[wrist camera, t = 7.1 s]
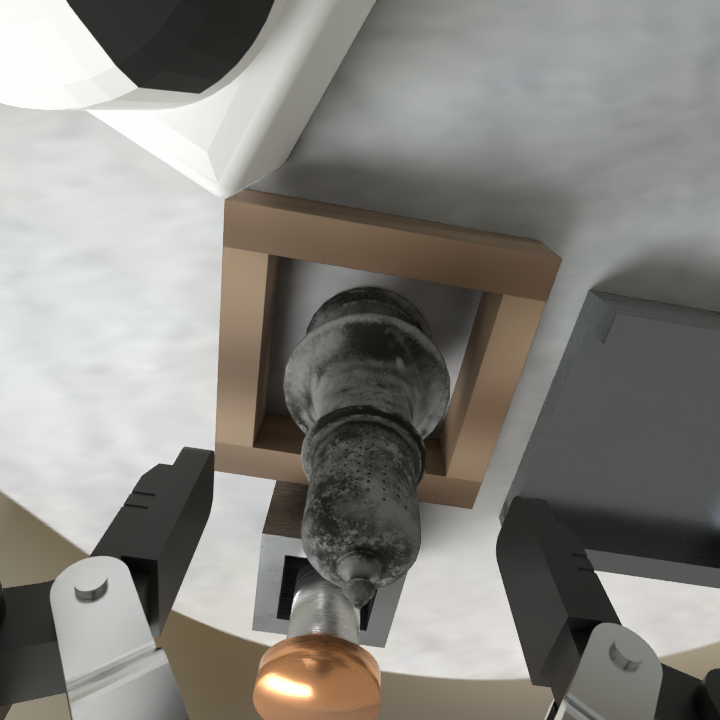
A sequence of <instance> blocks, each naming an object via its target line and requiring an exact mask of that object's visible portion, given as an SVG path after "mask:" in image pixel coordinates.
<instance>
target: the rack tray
mask: <svg viewBox="0 0 720 720" xmlns="http://www.w3.org/2000/svg"><path fill="white" fill-rule="evenodd" d="M515 496H523V497H530V498H537V499H543V500H546V501H547V503H548V505H549V507H550V509H551V511H552V513H553V515H554V518H555V520H556V521H559V522H564V523H565V524H566V525H567V526H568V527H569V528H570V529H571V530H572V531H573V533H574V534H575V535H576V536H577V537H578V538H579V540H580V542H581V544H582V546H583V548H584V550H585V552H586V554H587V559H589V560H590V562H591V564H592V566H593V568H594V570H596V571H603V572H610V573H617V574H624V575H631V576H638V577H644V578H651V579H658V580H665V581H672V582H679V583H686V584H693V585H700V586H707V587H714V588H720V313H718V312H712V311H707V310H701V309H695V308H689V307H683V306H678V305H672V304H666V303H660V302H654V301H649V300H643V299H637V298H631V297H626V296H620V295H614V294H608V293H602V292H597V291H591V290H589V292H588V294H587V297H586V299H585V302H584V304H583V307H582V309H581V312H580V314H579V317H578V319H577V322H576V325H575V327H574V330H573V332H572V335H571V337H570V340H569V342H568V345H567V347H566V350H565V352H564V355H563V357H562V360H561V362H560V365H559V367H558V370H557V372H556V375H555V377H554V380H553V382H552V385H551V387H550V390H549V392H548V395H547V398H546V400H545V403H544V405H543V408H542V410H541V413H540V415H539V418H538V420H537V423H536V425H535V428H534V430H533V433H532V435H531V438H530V440H529V443H528V445H527V448H526V450H525V453H524V455H523V458H522V460H521V463H520V465H519V468H518V471H517V473H516V476H515V478H514V481H513V483H512V486H511V488H510V491H509V493H508V496H507V498H506V501H505V503H504V506H503V508H502V511H501V513H500V516H499V519H500V523H501V526H502V525H503V523H504V520H505V517H506V515H507V512H508V510H509V507H510V504H511V502H512V500H513V498H514V497H515Z"/></svg>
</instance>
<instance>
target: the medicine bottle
mask: <svg viewBox="0 0 720 720" xmlns="http://www.w3.org/2000/svg"><path fill="white" fill-rule="evenodd" d="M375 2H376V0H0V103H3V104H8V105H12V106H16V107H21V108H33V109H46V110H87V111H88V112H90V113H91V114H93V115H94V116H96V117H97V118H99V119H100V120H102V121H104V122H105V123H107V124H108V125H110V126H111V127H113V128H114V129H116V130H117V131H119V132H120V133H122V134H123V135H125V136H126V137H128V138H129V139H131V140H132V141H134V142H135V143H137V144H139V145H140V146H142V147H143V148H145V149H146V150H148V151H149V152H151V153H152V154H154V155H155V156H157V157H158V158H160V159H161V160H163V161H164V162H166V163H167V164H169V165H170V166H172V167H174V168H175V169H177V170H178V171H180V172H181V173H183V174H184V175H186V176H187V177H189V178H190V179H192V180H193V181H195V182H196V183H198V184H199V185H201V186H202V187H204V188H205V189H207V190H209V191H210V192H212V193H213V194H215V195H217V196H220V197H223V198H225V197H230V196H233V195H235V194H236V193H238V192H240V191H242V190H243V189H245V188H247V187H248V186H250V185H252V184H253V183H255V182H257V181H259V180H260V179H262V178H264V177H265V176H267V175H269V174H271V173H272V172H274V171H276V170H277V169H279V168H281V167H282V166H283V165H284V163H285V162H286V160H287V158H288V156H289V155H290V153H291V151H292V149H293V147H294V146H295V144H296V142H297V140H298V139H299V137H300V135H301V133H302V131H303V130H304V128H305V126H306V124H307V123H308V121H309V119H310V117H311V115H312V114H313V112H314V110H315V108H316V107H317V105H318V103H319V101H320V100H321V98H322V96H323V94H324V92H325V91H326V89H327V87H328V85H329V84H330V82H331V80H332V78H333V76H334V75H335V73H336V71H337V69H338V68H339V66H340V64H341V62H342V60H343V59H344V57H345V55H346V53H347V52H348V50H349V48H350V46H351V45H352V43H353V41H354V39H355V37H356V36H357V34H358V32H359V30H360V29H361V27H362V25H363V23H364V21H365V20H366V18H367V16H368V14H369V13H370V11H371V9H372V7H373V5H374V4H375Z"/></svg>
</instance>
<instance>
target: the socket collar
mask: <svg viewBox="0 0 720 720" xmlns="http://www.w3.org/2000/svg"><path fill="white" fill-rule="evenodd" d="M280 256H282V257H288V258H293V259H299V260H305V261H311V262H317V263H323V264H328V265H334V266H340V267H346V268H352V269H358V270H364V271H369V272H375V273H381V274H387V275H393V276H399V277H404V278H410V279H416V280H422V281H428V282H434V283H440V284H445V285H451V286H457V287H463V288H469V289H475V290H480V291H483V294H482V297H481V300H480V304H479V307H478V311H477V314H476V317H475V321H474V324H473V328H472V331H471V334H470V338H469V341H468V345H467V348H466V351H465V355H464V358H463V362H462V365H461V368H460V372H459V375H458V379H457V382H456V385H455V389H454V392H453V396H452V399H451V402H450V406H449V409H448V412H447V416H446V419H445V423H444V426H443V429H442V433H441V436H440V440H433V439H426V438H424V439H423V442H424V445H425V448H426V452H427V467H426V470H425V473H424V476H423V479H422V480H421V482H420V483H419V485H418V486H417V497H418V501H421V502H427V503H434V504H441V505H447V506H454V507H461V508H468V509H472V508H473V505H474V502H475V499H476V497H477V494H478V491H479V488H480V486H481V483H482V480H483V477H484V474H485V472H486V469H487V466H488V463H489V460H490V458H491V455H492V452H493V449H494V447H495V444H496V441H497V438H498V435H499V433H500V430H501V427H502V424H503V422H504V419H505V416H506V413H507V410H508V408H509V405H510V402H511V399H512V397H513V394H514V391H515V388H516V385H517V383H518V380H519V377H520V374H521V372H522V369H523V366H524V363H525V360H526V358H527V355H528V352H529V349H530V347H531V344H532V341H533V338H534V335H535V333H536V330H537V327H538V324H539V322H540V319H541V316H542V313H543V310H544V308H545V305H546V302H547V299H548V297H549V294H550V291H551V288H552V285H553V283H554V280H555V277H556V274H557V272H558V269H559V266H560V263H561V260H562V259H561V258H560V257H559V256H558V255H556V254H555V253H554V252H553V251H551V250H550V249H549V248H548V247H546V246H545V245H544V244H543V243H541V242H540V241H537V240H531V239H526V238H520V237H514V236H509V235H503V234H497V233H492V232H486V231H481V230H475V229H469V228H464V227H458V226H452V225H447V224H441V223H435V222H430V221H424V220H418V219H413V218H407V217H401V216H396V215H390V214H384V213H379V212H373V211H368V210H362V209H356V208H351V207H345V206H339V205H334V204H328V203H322V202H317V201H311V200H305V199H300V198H294V197H288V196H283V195H277V194H272V193H266V192H260V191H255V190H249V189H243V190H242V191H240V192H238V193H236V194H235V195H233V196H230V197H229V198H227V199H225V206H224V232H223V257H222V283H221V308H220V334H219V359H218V385H217V411H216V436H215V462H214V471H220V472H226V473H233V474H240V475H246V476H253V477H260V478H266V479H273V480H280V481H287V482H293V483H300V484H307V485H309V483H310V482H309V481H308V479H307V477H306V475H305V473H304V470H303V467H302V461H301V451H302V445H303V440H304V438H305V436H306V434H305V433H304V432H303V431H302V430H301V429H300V427H299V426H298V425H297V424H296V423H295V422H294V420H293V418H291V417H285V416H278V415H272V414H265V408H266V397H267V386H268V376H269V365H270V354H271V343H272V333H273V322H274V311H275V300H276V290H277V279H278V268H279V257H280Z"/></svg>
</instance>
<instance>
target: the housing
mask: <svg viewBox="0 0 720 720" xmlns="http://www.w3.org/2000/svg"><path fill="white" fill-rule="evenodd" d="M308 488H309V485H307V484H300V483H293V482H287V481H280V480H277V481H276V484H275V488H274V492H273V495H272V499H271V503H270V506H269V510H268V514H267V518H266V521H265V525H264V529H263V532H262V540H261V550H260V559H259V569H258V579H257V588H256V598H255V608H254V617H253V627H252V630H255V631H263V632H270V633H278V634H285V635H287V633H288V627H289V621H290V615H291V609H292V603H293V598H294V592H295V586H296V580H297V574H298V568H299V562H300V557H303V558H307V557H306V555H305V553H304V550H303V544H302V537H301V527H302V521H303V516H304V510H305V505H306V499H307V494H308ZM407 572H408V571H407ZM407 572H406V573H405V574H404V575H403V577H401V578H400V579H398V580H397V581H396V582H394V583H393V584H390V585H388V586H386V587H383V588H379V589H375V594H374V596H373V597H372V598H371V599H369V601H368V602H367V604H365V605H363V607H362V608H361V609H360V639H359V644H360V645H367V646H374V647H382V648H385V644H386V641H387V638H388V634H389V631H390V628H391V625H392V621H393V618H394V615H395V611H396V608H397V605H398V601H399V598H400V595H401V592H402V588H403V585H404V582H405V578H406V575H407Z"/></svg>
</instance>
